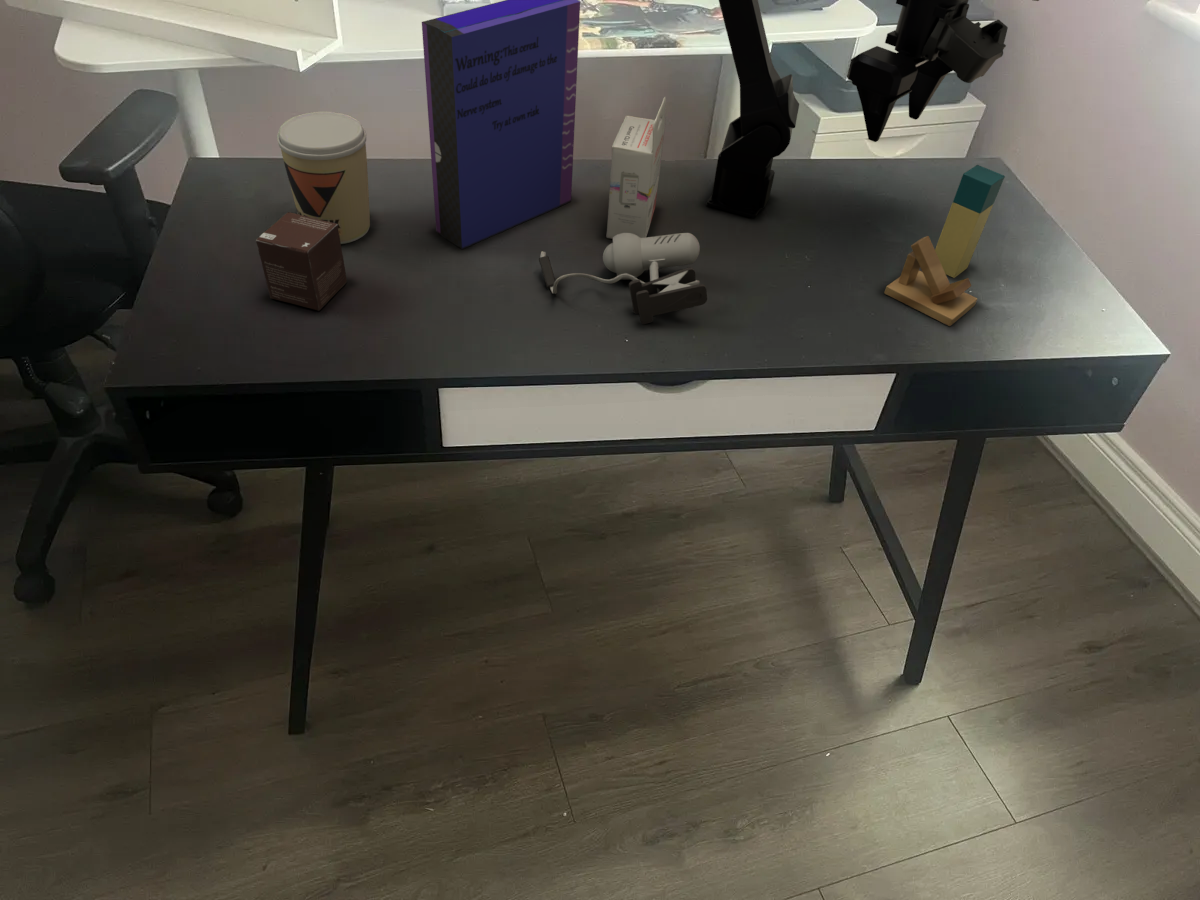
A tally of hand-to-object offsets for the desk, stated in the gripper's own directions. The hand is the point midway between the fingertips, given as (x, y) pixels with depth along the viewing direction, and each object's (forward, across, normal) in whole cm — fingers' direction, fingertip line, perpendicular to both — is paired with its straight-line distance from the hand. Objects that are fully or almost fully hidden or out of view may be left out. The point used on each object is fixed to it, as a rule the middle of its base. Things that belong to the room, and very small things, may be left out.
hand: (893, 129), depth 106 cm
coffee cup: (+13, -50, +41) cm, 66 cm away
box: (+13, -60, +33) cm, 69 cm away
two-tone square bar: (+6, -1, -12) cm, 14 cm away
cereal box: (+13, -33, +30) cm, 47 cm away
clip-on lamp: (+13, -35, +10) cm, 38 cm away
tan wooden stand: (+13, -9, -14) cm, 21 cm away
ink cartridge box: (+13, -23, +19) cm, 33 cm away
